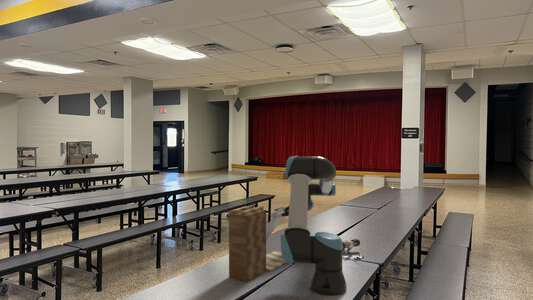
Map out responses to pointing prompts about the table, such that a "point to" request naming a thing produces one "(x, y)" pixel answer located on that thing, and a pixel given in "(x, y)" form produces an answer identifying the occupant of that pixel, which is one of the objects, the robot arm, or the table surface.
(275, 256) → the board
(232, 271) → the wooden rectangular column
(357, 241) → the figurine
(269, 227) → the block
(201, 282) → the table surface
